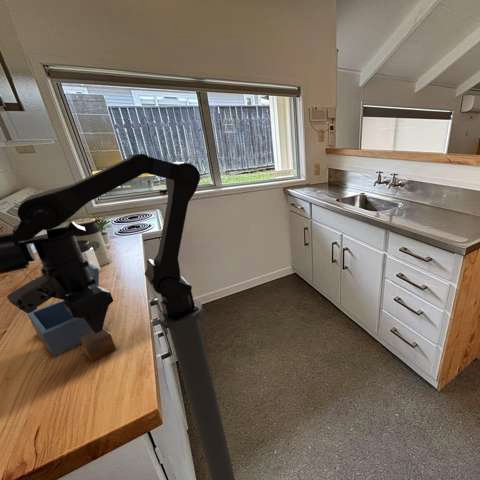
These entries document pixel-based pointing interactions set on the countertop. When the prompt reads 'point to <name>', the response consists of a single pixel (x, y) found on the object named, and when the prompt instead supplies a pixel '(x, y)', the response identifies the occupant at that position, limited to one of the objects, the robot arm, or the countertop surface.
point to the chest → (58, 327)
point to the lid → (93, 274)
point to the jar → (88, 253)
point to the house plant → (104, 234)
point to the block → (97, 344)
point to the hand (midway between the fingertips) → (90, 324)
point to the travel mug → (93, 239)
